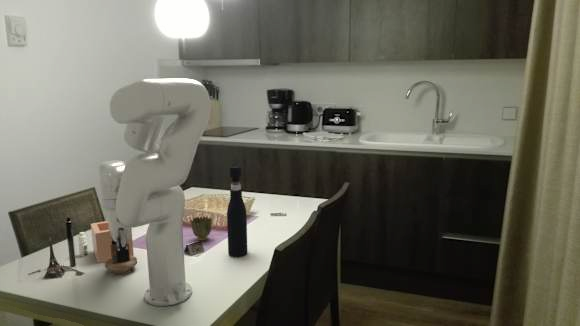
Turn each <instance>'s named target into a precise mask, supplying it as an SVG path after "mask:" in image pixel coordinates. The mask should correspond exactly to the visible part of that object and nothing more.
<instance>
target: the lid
mask: <svg viewBox="0 0 580 326" xmlns="http://www.w3.org/2000/svg"><path fill="white" fill-rule="evenodd" d="M119 245H120V243H119ZM110 246H111V257H112V258H111V259H109V260H107V261H106V262H104V267H105V269H106V270H108V271H110V272H111V273H112V274H113V275H118V276H119V275H125V274H128V273H130V272H131V271H132V270H133V267H135V266H136V265H137V264H138V258H137V257H136V256H135V255H134V256H130V252H129V243H128V242H127V247H128V254H129V261H127V262H122V263H118V262H117V251H116V250H117V244H113V245H110Z"/></svg>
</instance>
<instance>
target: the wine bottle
mask: <svg viewBox="0 0 580 326" xmlns="http://www.w3.org/2000/svg"><path fill="white" fill-rule="evenodd" d="M228 170H229V172H228V173H229V177H230V178H231V184H230V199H229V201H228V205H227V211H226V223H227V224H226V225H227V227H226V228H227V252H228V257H229V256H230V257H231V258H243V257H245V256H247V255H248V226H247V225H248V223H247V221H248V220H247V218H248V217H247V208H246V205H245V202H244V201H245V200H243V190H242V185H241V183H240V182H241V181H240V178H241V177H242V176H243V175H242V166H241V165H236V164H235V165H230V166H229V168H228Z"/></svg>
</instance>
